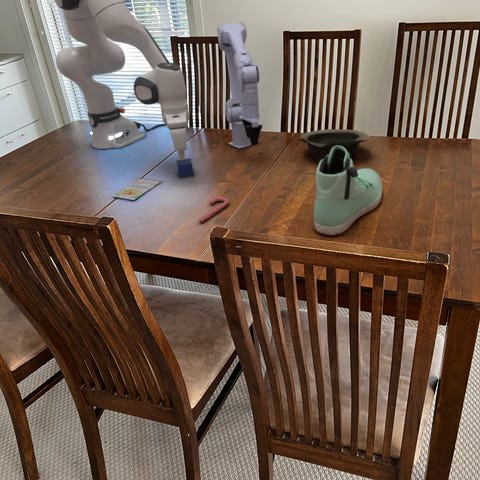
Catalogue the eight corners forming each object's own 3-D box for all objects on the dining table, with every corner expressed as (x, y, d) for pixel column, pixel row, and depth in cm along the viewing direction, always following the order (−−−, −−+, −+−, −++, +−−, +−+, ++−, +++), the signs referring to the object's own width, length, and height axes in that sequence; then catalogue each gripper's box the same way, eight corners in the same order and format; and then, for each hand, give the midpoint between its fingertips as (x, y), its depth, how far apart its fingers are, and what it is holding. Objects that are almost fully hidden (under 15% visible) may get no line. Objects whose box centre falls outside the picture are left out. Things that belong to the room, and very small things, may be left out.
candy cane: (186, 219, 140) (185, 215, 139) (217, 198, 150) (217, 194, 149) (202, 224, 137) (201, 219, 136) (233, 202, 147) (232, 198, 146)
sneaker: (389, 187, 148) (396, 123, 138) (356, 242, 123) (361, 168, 112) (346, 181, 154) (350, 119, 144) (306, 232, 129) (307, 161, 118)
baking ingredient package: (111, 195, 156) (139, 178, 167) (112, 196, 156) (139, 179, 168) (133, 199, 152) (160, 181, 164) (133, 200, 153) (160, 182, 164)
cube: (178, 172, 171) (176, 160, 168) (192, 170, 171) (190, 158, 169) (179, 177, 166) (177, 165, 164) (193, 175, 167) (192, 163, 165)
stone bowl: (326, 173, 160) (325, 146, 155) (286, 156, 180) (285, 132, 176) (384, 155, 168) (385, 129, 164) (340, 141, 189) (339, 117, 184)
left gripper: (164, 108, 166) (170, 146, 173) (167, 125, 149) (173, 166, 156) (183, 105, 167) (188, 144, 174) (187, 122, 149) (192, 164, 156)
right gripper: (234, 98, 169) (237, 135, 176) (242, 109, 157) (245, 149, 164) (254, 96, 170) (256, 133, 177) (263, 107, 158) (265, 146, 165)
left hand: (181, 154), depth 165 cm, fingers open, 8 cm apart
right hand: (252, 140), depth 171 cm, fingers open, 7 cm apart
